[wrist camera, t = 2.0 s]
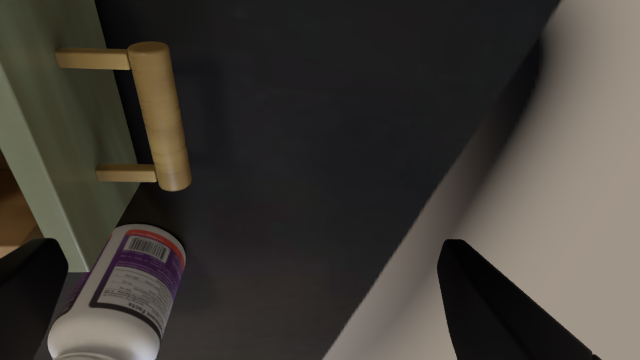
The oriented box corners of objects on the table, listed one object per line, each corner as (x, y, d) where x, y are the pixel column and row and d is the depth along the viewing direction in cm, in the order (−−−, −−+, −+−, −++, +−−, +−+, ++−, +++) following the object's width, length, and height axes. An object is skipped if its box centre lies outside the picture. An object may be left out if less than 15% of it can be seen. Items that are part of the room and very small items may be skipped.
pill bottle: (132, 285, 28) (65, 436, 20) (85, 232, 25) (-15, 386, 17) (202, 268, 27) (161, 418, 19) (162, 212, 24) (95, 362, 16)
